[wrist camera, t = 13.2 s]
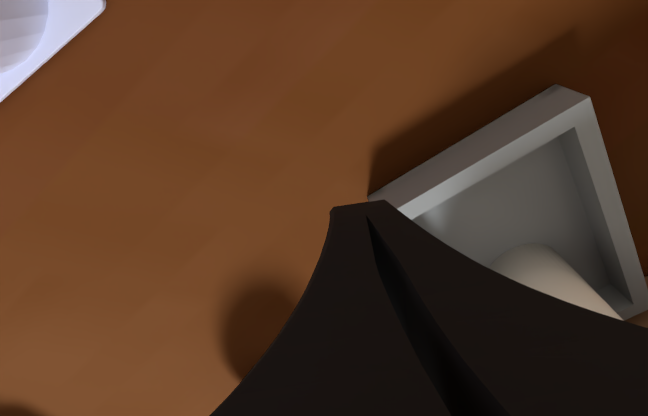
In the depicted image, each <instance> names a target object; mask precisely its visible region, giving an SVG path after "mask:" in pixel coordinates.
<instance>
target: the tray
mask: <svg viewBox="0 0 648 416" xmlns="http://www.w3.org/2000/svg"><path fill="white" fill-rule="evenodd" d="M367 198H368V200H369V202H371V201H377V200H384V199H385V200H386V201H387V202H389V203H390V204H391V205H393V206H394V207H395V208H396V209H398V210H399V211H400V212H402V213H403V214H404V215H405V216H407V217H408V218H409V219H411V220H412V221H413V222H415V223H416V224H417V225H419V226H420V227H422V228H423V229H424V230H426V231H427V232H429V233H430V234H432V235H433V236H435V237H436V238H438V239H439V240H441V241H442V242H444V243H445V244H447V245H449V246H450V247H452V248H454V249H455V250H457V251H459V252H460V253H462V254H464V255H465V256H467V257H469V258H470V259H472V260H474V261H476V262H478V263H480V264H481V265H483V266H485V267H487V268H489V267H490V266H491V264H492V263H493V262H494V261H495V260H496V259H497V258H498V257H499V256H501V255H502V254H503V253H505V252H506V251H508V250H510V249H512V248H514V247H517V246H520V245H524V244H532V243H536V244H543V245H547V246H549V247H551V248H553V249H554V250H555V251H556V252H557V253H558V254H559V255H560V256H561V257H562V258H563V259H564V260H565V261H566V262H567V263H568V264H569V265H570V266H571V267H572V268H573V269H574V270H575V271H576V272H577V273H578V274H579V275H580V276H581V277H582V278H583V279H584V280H585V281H586V282H587V284H588V285H589V286H590V287H591V288H592V289H593V290H594V291H595V292H596V293H597V294H598V295H599V296H600V297H601V298H602V299H603V300H604V301H605V302H606V303H607V304H608V305H609V306H610V307H611V308H612V309H613V310H614V311H615V312H616V313H617V314H618V315H619V316H620V317H621V318H622V319H623V320H627V319H629V318H631V317H633V316H635V315H637V314H640V313H642V312H644V311H646V310H648V288H647V285H646V282H645V278H644V275H643V272H642V268H641V265H640V262H639V258H638V255H637V252H636V248H635V245H634V242H633V238H632V235H631V232H630V228H629V225H628V222H627V218H626V215H625V212H624V208H623V205H622V202H621V198H620V195H619V192H618V188H617V185H616V182H615V178H614V175H613V172H612V168H611V165H610V162H609V158H608V155H607V152H606V148H605V145H604V142H603V138H602V135H601V132H600V128H599V125H598V122H597V118H596V115H595V112H594V108H593V105H592V102H591V98H590V96H587V95H584V94H582V93H579V92H576V91H574V90H571V89H568V88H566V87H563V86H560V85H558V84H555V85H553V86H551V87H550V88H548V89H546V90H545V91H543V92H541V93H540V94H538V95H536V96H535V97H533V98H531V99H529V100H528V101H526V102H524V103H523V104H521V105H519V106H518V107H516V108H514V109H513V110H511V111H509V112H508V113H506V114H504V115H503V116H501V117H499V118H498V119H496V120H494V121H493V122H491V123H489V124H488V125H486V126H484V127H483V128H481V129H479V130H478V131H476V132H474V133H473V134H471V135H469V136H468V137H466V138H464V139H463V140H461V141H459V142H458V143H456V144H454V145H453V146H451V147H449V148H448V149H446V150H444V151H443V152H441V153H439V154H438V155H436V156H434V157H432V158H431V159H429V160H427V161H426V162H424V163H422V164H421V165H419V166H417V167H416V168H414V169H412V170H411V171H409V172H407V173H406V174H404V175H402V176H401V177H399V178H397V179H396V180H394V181H392V182H391V183H389V184H387V185H386V186H384V187H382V188H381V189H379V190H377V191H376V192H374V193H372V194H371V195H369V196H367Z"/></svg>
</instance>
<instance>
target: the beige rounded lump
mask: <svg viewBox="0 0 648 416" xmlns="http://www.w3.org/2000/svg"><path fill="white" fill-rule="evenodd" d="M489 268H490V269H492V270H494V271H496V272H498V273H500V274H502V275H504V276H506V277H508V278H510V279H512V280H514V281H517V282H519V283H521V284H523V285H526V286H528V287H530V288H533V289H535V290H538V291H540V292H543V293H546V294H548V295H551V296H553V297H556V298H558V299H561V300H563V301H566V302H569V303H571V304H574V305H577V306H580V307H583V308H586V309H589V310H592V311H594V312H597V313H601V314H604V315H607V316H610V317H613V318H617V319H620V320H623V319H622V318H621V317H620V316H619V315H618V314H617V313H616V312H615V311H614V310H613V309H612V308H611V307H610V306H609V305H608V304H607V303H606V302H605V301H604V300H603V299H602V298H601V297H600V296H599V295H598V294H597V293H596V292H595V291H594V290H593V289H592V288H591V287H590V286H589V285H588V284H587V282H586V281H585V280H584V279H583V278H582V277H581V276H580V275H579V274H578V273H577V272H576V271H575V270H574V269H573V268H572V267H571V266H570V265H569V264H568V263H567V262H566V261H565V260H564V259H563V258H562V257H561V256H560V255H559V254H558V253H557V252H556V251H555V250H554V249H553V248H551V247H549V246H547V245H543V244H536V243H532V244H524V245H520V246H517V247H514V248H512V249H510V250H508V251H506V252H505V253H503V254H502V255H501V256H499V257H498V258H497V259H496V260H495V261H494V262H493V263H492V264H491V266H490V267H489ZM623 321H624V320H623Z"/></svg>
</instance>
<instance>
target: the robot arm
mask: <svg viewBox="0 0 648 416" xmlns="http://www.w3.org/2000/svg"><path fill="white" fill-rule="evenodd" d="M105 8H106V0H0V102H2V101H3V100H4V99H5V98H6V97H7V96H8V95H9V94H11V93H12V92H13V91H14V90H15V89H16V88H17V87H18V86H20V85H21V84H22V83H23V82H24V81H25V80H26V79H27V78H29V77H30V76H31V75H32V74H33V73H34V72H35V71H37V70H38V69H39V68H40V67H41V66H42V65H43V64H44V63H46V62H47V61H48V60H49V59H50V58H51V57H52V56H53V55H55V54H56V53H57V52H58V51H59V50H60V49H61V48H62V47H64V46H65V45H66V44H67V43H68V42H69V41H70V40H71V39H73V38H74V37H75V36H76V35H77V34H78V33H79V32H80V31H82V30H83V29H84V28H85V27H86V26H87V25H88V24H90V23H91V22H92V21H93V20H94V19H95V18H96V17H97V16H99V15H100V14H101V13H102V12H103V11H104V9H105ZM210 416H648V328H646V327H642V326H639V325H636V324H633V323H629V322H626V321H623V320H620V319H617V318H613V317H610V316H607V315H604V314H601V313H597V312H594V311H592V310H589V309H586V308H583V307H580V306H577V305H574V304H571V303H569V302H566V301H563V300H561V299H558V298H556V297H553V296H551V295H548V294H546V293H543V292H540V291H538V290H535V289H533V288H530V287H528V286H526V285H523V284H521V283H519V282H517V281H514V280H512V279H510V278H508V277H506V276H504V275H502V274H500V273H498V272H496V271H494V270H492V269H490V268H487V267H485V266H483V265H481V264H480V263H478V262H476V261H474V260H472V259H470V258H469V257H467V256H465V255H464V254H462V253H460V252H459V251H457V250H455V249H454V248H452V247H450V246H449V245H447V244H445V243H444V242H442V241H441V240H439V239H438V238H436V237H435V236H433V235H432V234H430V233H429V232H427V231H426V230H424V229H423V228H422V227H420V226H419V225H417V224H416V223H415V222H413V221H412V220H411V219H409V218H408V217H407V216H405V215H404V214H403V213H402V212H400V211H399V210H398V209H396V208H395V207H394V206H393V205H391V204H390V203H389V202H387V201H386V200H385V199H384V200H377V201H371V202H364V203H357V204H351V205H344V206H337V207H333V209H332V210H331V211H330V223H329V228H328V232H327V237H326V240H325V243H324V246H323V249H322V252H321V255H320V258H319V261H318V263H317V265H316V268H315V270H314V272H313V275H312V277H311V279H310V281H309V283H308V285H307V287H306V289H305V291H304V293H303V295H302V297H301V299H300V301H299V302H298V304H297V306H296V308H295V309H294V311H293V313H292V314H291V316H290V317H289V319H288V321H287V322H286V324H285V325H284V327H283V328H282V330H281V331H280V333H279V334H278V336H277V337H276V338H275V340H274V341H273V343H272V344H271V345H270V347H269V348H268V349H267V351H266V352H265V353H264V355H263V356H262V357H261V358H260V359H259V361H258V362H257V363H256V364H255V365H254V367H253V368H252V369H251V370H250V372H249V373H248V374H247V375H246V376H245V378H244V379H243V380H242V381H241V383H240V384H239V385H238V386H237V387H236V388H235V390H234V391H233V392H232V393H231V394H230V395H229V396H228V397H227V398H226V399H225V400H224V401H223V402H222V403H221V404H220V405H219V407H218V408H217V409H216V410H215V411H214V412H213V413H212V414H211V415H210Z"/></svg>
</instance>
